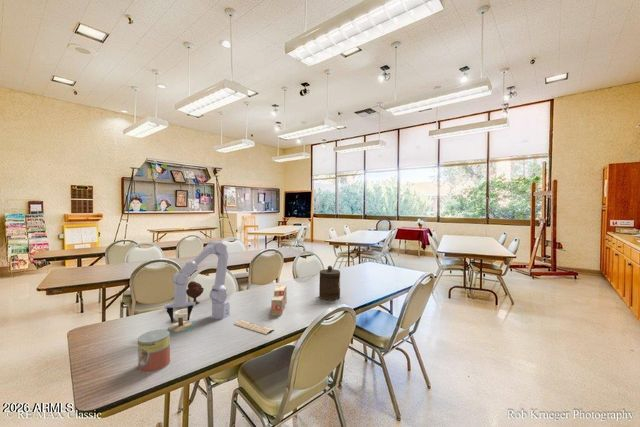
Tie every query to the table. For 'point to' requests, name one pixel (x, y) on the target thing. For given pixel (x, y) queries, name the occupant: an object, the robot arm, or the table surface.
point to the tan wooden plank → (253, 327)
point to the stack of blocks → (278, 300)
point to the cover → (180, 325)
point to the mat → (182, 331)
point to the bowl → (183, 314)
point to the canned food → (153, 351)
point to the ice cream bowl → (194, 290)
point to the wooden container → (329, 284)
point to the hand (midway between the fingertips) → (180, 320)
